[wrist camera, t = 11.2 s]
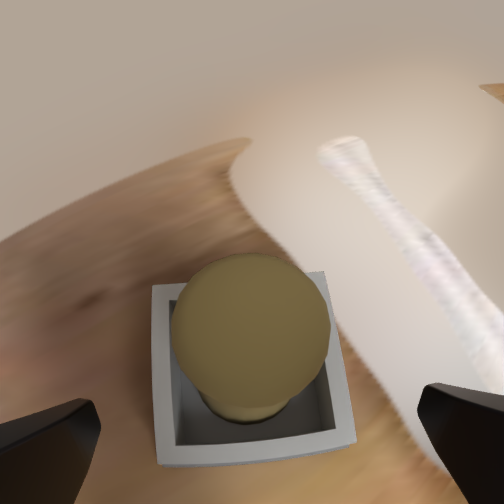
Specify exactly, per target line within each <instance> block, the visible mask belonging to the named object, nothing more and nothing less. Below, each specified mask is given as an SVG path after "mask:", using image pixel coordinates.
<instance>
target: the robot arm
mask: <svg viewBox="0 0 504 504" xmlns="http://www.w3.org/2000/svg"><path fill="white" fill-rule="evenodd" d="M417 413H418V417H419V419H420V421H421V423H422V425H423V427H424V429H425V431H426V433H427V435H428V437H429V439H430V441H431V443H432V445H433V447H434V449H435V451H436V452H437V454H438V456H439V457H440V459H441V460H442V462H443V463H444V465H445V467H446V468H447V470H448V471H449V473H450V474H451V476H452V478H453V479H454V481H455V482H456V484H457V485H458V487H459V489H460V490H461V492H462V493H463V495H464V497H465V498H466V500H467V502H468V503H469V504H504V395H498V394H492V393H487V392H481V391H476V390H470V389H466V388H461V387H456V386H451V385H446V384H442V383H433V384H429V385H426V386H425V387H424V389H423V392H422V395H421V398H420V401H419V404H418V408H417ZM100 431H101V423H100V420H99V417H98V414H97V412H96V409H95V406H94V403H93V402H92V401H91V400H88V399H81V398H78V399H75V400H72V401H69V402H66V403H64V404H61V405H58V406H55V407H52V408H49V409H46V410H43V411H40V412H37V413H34V414H31V415H28V416H25V417H22V418H18V419H15V420H12V421H9V422H5V423H2V424H0V504H74V502H75V500H76V497H77V495H78V493H79V491H80V488H81V486H82V484H83V481H84V479H85V477H86V475H87V472H88V470H89V467H90V464H91V461H92V457H93V454H94V451H95V447H96V444H97V441H98V438H99V434H100Z"/></svg>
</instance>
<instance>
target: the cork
mask: <svg viewBox="0 0 504 504" xmlns="http://www.w3.org/2000/svg"><path fill="white" fill-rule="evenodd" d="M330 332H331V323H330V318H329V313H328V308H327V304H326V302H325V300H324V298H323V296H322V295H321V293H320V291H319V289H318V288H317V286H316V284H315V283H314V282H313V281H312V280H311V279H310V278H309V277H308V276H307V275H306V274H305V273H303V272H302V271H301V270H300V269H299V268H298V267H296V266H294V265H292V264H290V263H288V262H286V261H284V260H282V259H280V258H278V257H274V256H269V255H264V254H259V253H247V254H234V255H230V256H228V257H225V258H222V259H219V260H217V261H214V262H211V263H210V264H208V265H207V266H206V267H204V268H203V269H202V270H200V271H199V272H197V273H196V274H195V275H193V276H192V278H191V279H190V280H189V282H188V283H187V284H186V286H185V287H184V288H183V290H182V291H181V293H180V294H179V296H178V299H177V302H176V306H175V309H174V312H173V315H172V320H171V334H172V348H173V350H174V353H175V356H176V358H177V361H178V364H179V366H180V369H181V370H182V371H183V372H184V374H185V375H186V376H187V377H188V378H189V380H190V381H191V382H192V383H193V384H194V386H195V387H196V388H197V389H198V392H199V394H200V396H201V399H202V401H203V403H204V404H205V405H206V406H207V407H208V408H209V409H210V411H211V412H212V413H213V414H215V415H216V416H218V417H220V418H222V419H223V420H225V421H227V422H230V423H235V424H240V425H252V424H260V423H262V422H265V421H267V420H269V419H272V418H274V417H275V416H276V415H278V414H279V413H280V412H281V411H282V410H283V409H284V408H285V407H286V406H287V404H288V403H289V401H290V399H291V397H294V396H296V395H297V394H299V393H300V392H301V391H302V390H303V389H304V388H305V387H306V386H307V385H308V384H309V383H310V382H311V381H312V380H313V379H314V378H315V377H316V376H317V375H318V373H319V371H320V369H321V367H322V365H323V363H324V361H325V359H326V357H327V355H328V348H329V340H330Z"/></svg>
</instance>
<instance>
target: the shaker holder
mask: <svg viewBox="0 0 504 504" xmlns="http://www.w3.org/2000/svg"><path fill="white" fill-rule="evenodd" d="M305 274H306V275H307V276H308V277H309V278H310V279H311V280H312V281H313V282H314V283H315V284H316V286H317V288H318V289H319V291H320V293H321V295H322V296H323V298H324V300H325V302H326V304H327V308H328V313H329V318H330V323H331V332H330V340H329V348H328V355H327V357H326V359H325V361H324V363H323V365H322V367H321V369H320V371H319V373H318V375H317V376H316V377H315V378H314V379H313V380H312V381H311V382H310V383H309V384H308V385H307V386H306V387H305V388H304V389H303V390H302V391H301V392H300V393H299V394H297V395H296V396H294V397H291V399H290V401H289V403H288V404H287V406H286V407H285V408H284V409H283V410H282V411H281V412H280V413H279V414H278V415H276V416H275V417H274V418H272V419H269V420H267V421H265V422H262V423H260V424H252V425H240V424H235V423H230V422H227V421H225V420H223V419H222V418H220V417H218V416H216V415H215V414H213V413H212V412H211V411H210V409H209V408H208V407H207V406H206V405H205V404H204V403H203V401H202V399H201V396H200V394H199V392H198V389H197V388H196V387H195V386H194V384H193V383H192V382H191V381H190V380H189V378H188V377H187V376H186V375H185V374H184V372H183V371H182V370H181V369H180V366H179V364H178V361H177V358H176V356H175V353H174V350H173V348H172V334H171V320H172V315H173V312H174V309H175V306H176V302H177V299H178V296H179V294H180V293H181V291H182V290H183V288H184V287H185V286H186V284H187V283H176V284H162V285H152V316H151V353H152V391H153V411H154V427H155V440H156V452H157V463H158V464H162V465H163V467H214V466H231V465H243V464H254V463H263V462H271V461H279V460H286V459H292V458H298V457H304V456H310V455H315V454H320V453H325V452H330V451H335V450H339V449H344V448H348V447H349V444H352V443H356V442H357V438H356V432H355V425H354V419H353V413H352V407H351V401H350V395H349V389H348V384H347V378H346V373H345V367H344V362H343V357H342V352H341V347H340V342H339V337H338V332H337V327H336V322H335V318H334V313H333V309H332V304H331V300H330V295H329V291H328V286H327V282H326V278H325V274H324V271H321V272H310V273H305Z"/></svg>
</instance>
